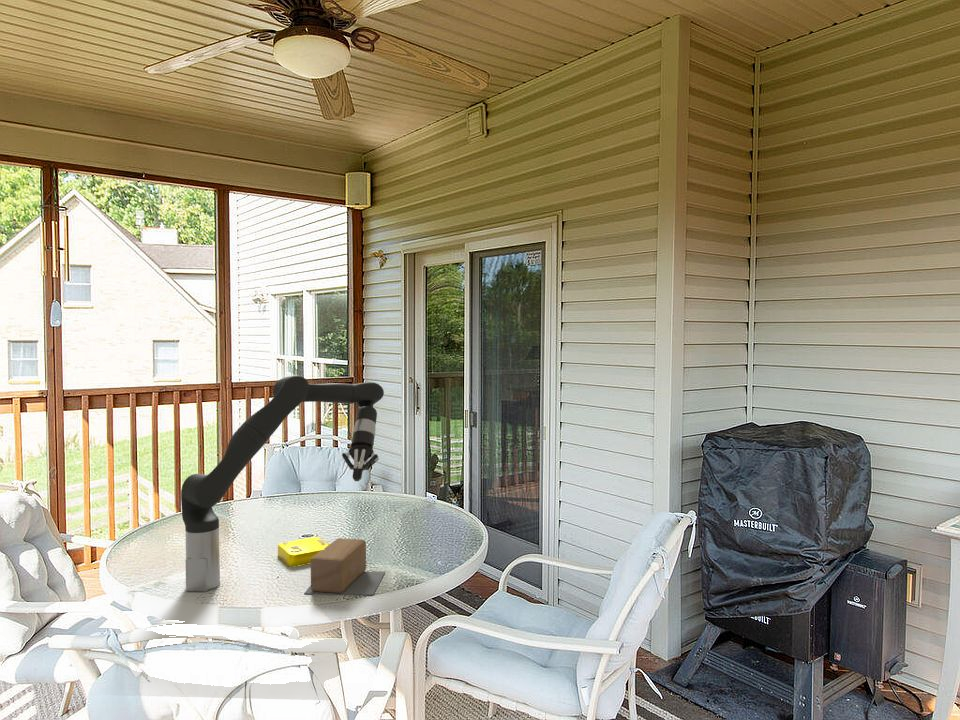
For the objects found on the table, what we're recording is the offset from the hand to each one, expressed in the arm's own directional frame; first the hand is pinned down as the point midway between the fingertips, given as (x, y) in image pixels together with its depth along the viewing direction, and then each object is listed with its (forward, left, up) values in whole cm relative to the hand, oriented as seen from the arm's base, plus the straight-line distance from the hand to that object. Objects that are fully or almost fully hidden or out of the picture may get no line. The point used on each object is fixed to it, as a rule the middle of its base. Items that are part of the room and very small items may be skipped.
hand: (356, 480), depth 221 cm
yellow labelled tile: (-1, +18, -27) cm, 32 cm away
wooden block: (-13, -1, -21) cm, 24 cm away
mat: (-24, -2, -26) cm, 35 cm away
